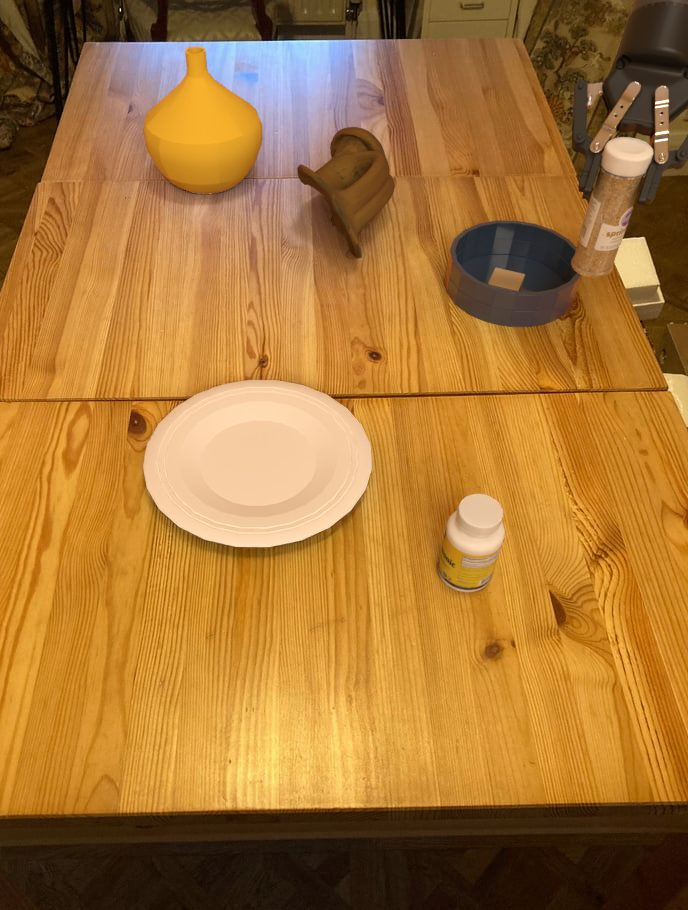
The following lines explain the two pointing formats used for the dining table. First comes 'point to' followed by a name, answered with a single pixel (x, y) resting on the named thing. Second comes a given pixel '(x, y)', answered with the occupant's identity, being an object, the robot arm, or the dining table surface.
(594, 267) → the sprinkles bottle
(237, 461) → the plate
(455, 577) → the supplement bottle
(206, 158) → the vase
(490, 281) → the block
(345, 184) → the brown looped sculpture
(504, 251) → the bowl
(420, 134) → the dining table surface
